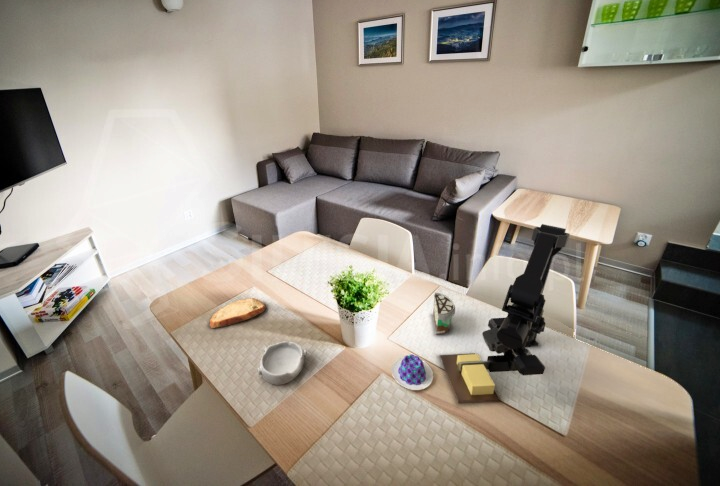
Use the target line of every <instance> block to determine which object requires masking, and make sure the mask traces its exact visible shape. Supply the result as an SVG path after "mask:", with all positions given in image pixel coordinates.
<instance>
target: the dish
mask: <svg viewBox="0 0 720 486" xmlns="http://www.w3.org/2000/svg"><path fill="white" fill-rule="evenodd" d="M307 356H308V351H307V349H306V348H305V349H303V348H302V347H301V345H299V344H298V343H297V342H294V341H288V340H283V341H279V342H277V343H274V344H271V345H269V346H266V347H264V349H263V354H262V355H261V358H260V361H259V362H260V363H259V366H257V373H258V375H259V376H260V375H261V376H262V378H263V380H264V381H265V382H267V383H269V384H272V385H284V384H287V383H289V382H292V381H293V380H294V379H295V378H296V377H298V375H299V374H300V373H301V372H302V370H303V368H304V365H305V364H304V363H305V358H307Z"/></svg>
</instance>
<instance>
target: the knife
mask: <svg viewBox="0 0 720 486" xmlns="http://www.w3.org/2000/svg"><path fill="white" fill-rule="evenodd" d="M477 364H484V366H485V368H486V370H487V371H488V373H503V372H504V373H505V372H518V370H517V369H516V368H515V369H514V370H510V366H509V365H510V359H509V358H508V356H507V355H504V354H497V355H487V359H486V360H481V361H476V362H458V366H457V371H462V366H463V365H477Z"/></svg>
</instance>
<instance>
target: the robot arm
mask: <svg viewBox="0 0 720 486" xmlns="http://www.w3.org/2000/svg"><path fill="white" fill-rule="evenodd" d="M566 231H567V230H566V228H564V227H559V226H554V225H550V224H543V223H542V224H541V225H540V226H535V227H534V228H533V232H532V235H531V238H530V239H531V241H533V249H532V251H531V254H530V257H529V259H528V261H527V264H526V266H525V269H524V272H523V273H522V274H520V275H518V276H516V277H515V279H514V282H513V284H510V285H509V287H508V289H507V293H506V295H505V299H504V302H503V305H502V308H501V311H502V312H505V313H507V316H506V317H493V318H490V319H489V320H488V323H487V327H488V328H489V329H488V330H484V331H482V333H481V334H482V338H483V341H484V343H485V345H486V346H487V348H488V350H489V351H490V352H492V353H493V352H495V353H496V354H497V355H507V356H508V358H509V359H510V365H509V366H510V370H514V369H515V368H516V369H517V370H518V371H517V372H518V374H519V375H521V376H538V375H539V376H540V375H544V374H545V370H546V366H545V365H544V364H543V362H542V361H541V360H540V358H539V357H538V356H537V355H536V354H533V353H532V352H531V351H530V350H529V349H528V348H531V347H538V346H539V343H538V341H537V337H538V335H540V334H541V333H543V332H544V331H545V329H546V322H545V319H546V318H545V317H543V315H544V307H545V304H546V299H545V294H543V293H544V289H545V287H546V284H547V279H548V276H549V274H550V270H551V266H552V263H553V261H554V260H553V259H554V256H555V255H557V254H558V253H560V252H561V251H562V250H563V248H565V247H566V246H567V244H568V242H569V238H570V233H568V232H566ZM509 302H510V304H508V303H509Z"/></svg>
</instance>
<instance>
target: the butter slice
mask: <svg viewBox="0 0 720 486" xmlns="http://www.w3.org/2000/svg"><path fill="white" fill-rule="evenodd" d="M468 354H469V355H458V356H457V365H458V362H476V361H482V359H481V357H480V356H479V354H478V353H475V354H471V353H468Z"/></svg>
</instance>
